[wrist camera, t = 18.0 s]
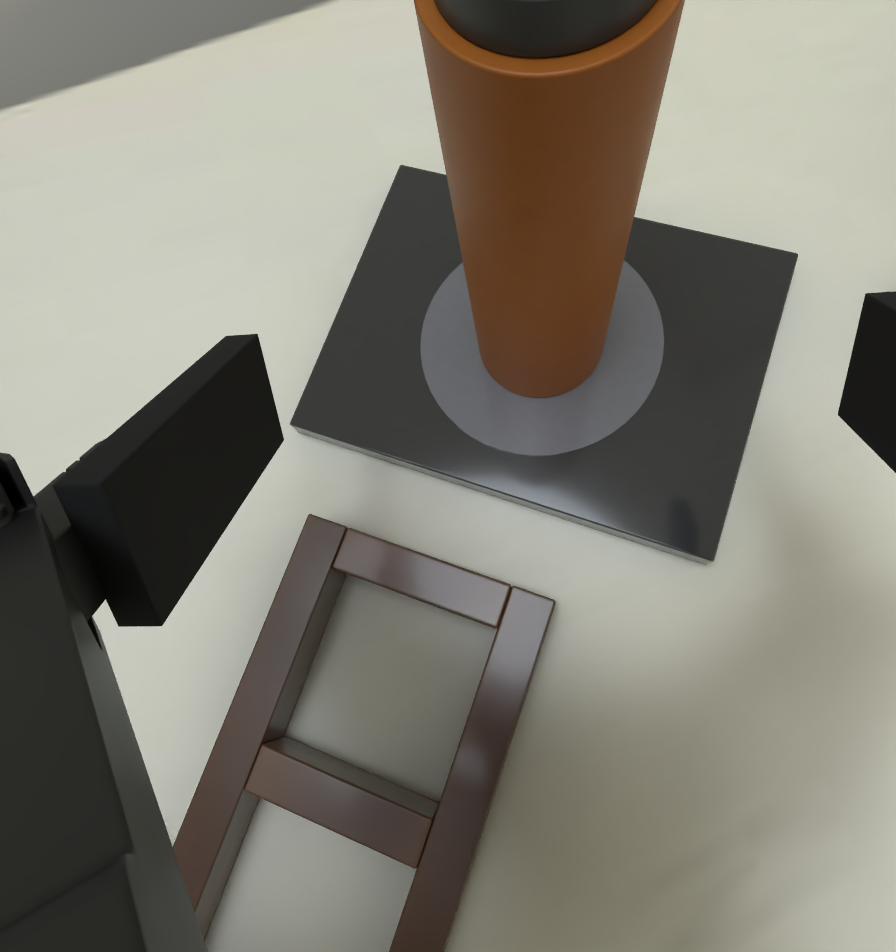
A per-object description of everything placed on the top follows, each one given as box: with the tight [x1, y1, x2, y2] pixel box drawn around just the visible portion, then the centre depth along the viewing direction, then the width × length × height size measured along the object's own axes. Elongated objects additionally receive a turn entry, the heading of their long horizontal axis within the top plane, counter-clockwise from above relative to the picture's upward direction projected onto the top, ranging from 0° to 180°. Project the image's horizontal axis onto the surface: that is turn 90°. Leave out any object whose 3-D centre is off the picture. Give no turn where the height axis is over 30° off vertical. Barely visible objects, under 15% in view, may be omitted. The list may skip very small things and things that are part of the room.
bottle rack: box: [173, 514, 556, 952], centre depth 21 cm, size 9×16×2 cm, turn 160°
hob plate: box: [290, 165, 798, 564], centre depth 25 cm, size 16×12×1 cm
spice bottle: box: [414, 0, 685, 398], centre depth 17 cm, size 5×5×15 cm
